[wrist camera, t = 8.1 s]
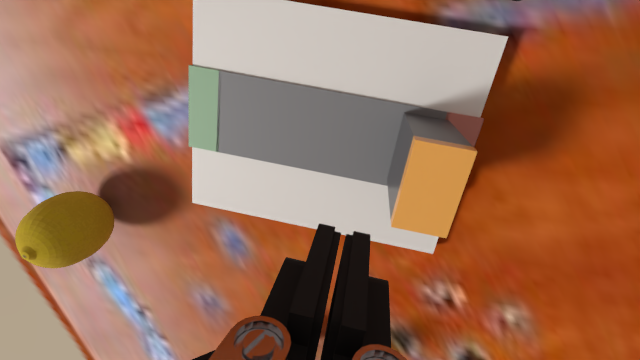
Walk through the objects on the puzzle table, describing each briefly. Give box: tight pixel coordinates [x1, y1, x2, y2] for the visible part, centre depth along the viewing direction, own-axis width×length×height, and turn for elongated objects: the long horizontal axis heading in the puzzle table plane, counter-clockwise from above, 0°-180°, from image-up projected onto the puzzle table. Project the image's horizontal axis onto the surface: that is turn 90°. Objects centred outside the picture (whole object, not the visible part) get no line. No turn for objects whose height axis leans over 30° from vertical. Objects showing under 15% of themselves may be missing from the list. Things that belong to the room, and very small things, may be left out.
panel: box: [189, 0, 508, 254], centre depth 25 cm, size 20×16×1 cm
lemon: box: [15, 191, 114, 268], centre depth 28 cm, size 6×6×8 cm
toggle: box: [387, 112, 477, 238], centre depth 21 cm, size 3×5×7 cm, turn 171°
